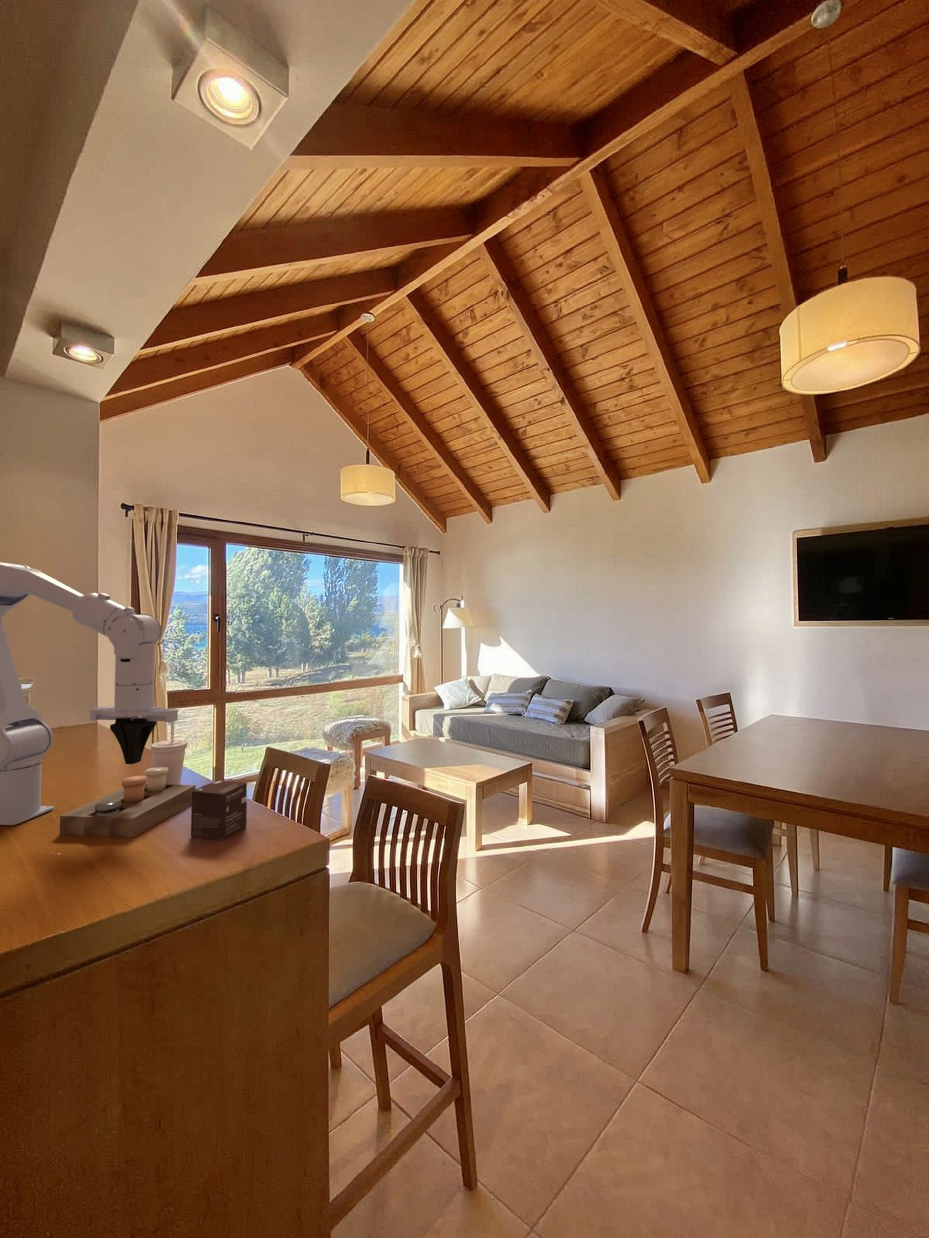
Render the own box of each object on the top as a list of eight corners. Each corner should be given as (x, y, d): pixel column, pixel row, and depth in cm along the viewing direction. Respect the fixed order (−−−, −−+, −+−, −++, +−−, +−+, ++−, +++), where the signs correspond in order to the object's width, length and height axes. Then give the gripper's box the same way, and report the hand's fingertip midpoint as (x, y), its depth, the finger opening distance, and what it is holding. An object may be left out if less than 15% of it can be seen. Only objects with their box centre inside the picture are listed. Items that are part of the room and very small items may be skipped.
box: (223, 841, 80) (224, 793, 80) (189, 837, 82) (190, 790, 82) (247, 826, 86) (248, 782, 86) (215, 823, 87) (216, 779, 88)
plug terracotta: (116, 805, 88) (116, 781, 88) (131, 798, 92) (131, 775, 92) (136, 805, 88) (137, 782, 88) (150, 798, 92) (151, 776, 92)
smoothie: (193, 791, 104) (194, 720, 104) (160, 799, 99) (161, 725, 99) (175, 785, 107) (177, 717, 108) (142, 793, 102) (144, 722, 102)
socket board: (59, 834, 82) (60, 815, 82) (134, 799, 99) (134, 783, 99) (132, 837, 81) (133, 818, 81) (195, 801, 98) (195, 785, 98)
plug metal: (88, 832, 82) (89, 806, 82) (105, 823, 86) (106, 799, 86) (110, 833, 82) (110, 807, 82) (126, 824, 86) (126, 800, 86)
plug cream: (140, 793, 94) (140, 771, 94) (153, 787, 98) (153, 766, 98) (159, 794, 94) (159, 772, 94) (171, 788, 98) (172, 766, 98)
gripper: (76, 685, 86) (74, 767, 86) (159, 687, 85) (158, 770, 85) (108, 681, 93) (106, 756, 93) (185, 682, 92) (184, 759, 92)
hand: (133, 762), depth 90 cm, fingers closed
